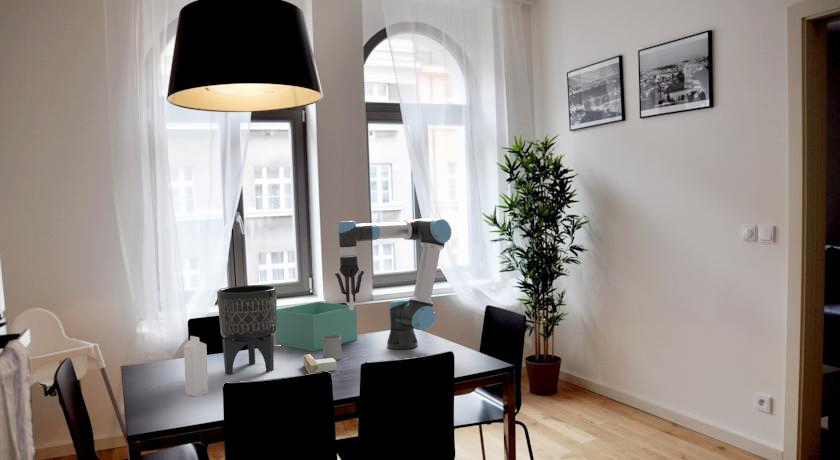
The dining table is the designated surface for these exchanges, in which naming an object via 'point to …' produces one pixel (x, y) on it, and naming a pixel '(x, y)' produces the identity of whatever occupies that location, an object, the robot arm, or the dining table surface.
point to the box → (315, 324)
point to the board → (310, 364)
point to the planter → (248, 322)
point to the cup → (332, 347)
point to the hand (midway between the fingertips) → (351, 309)
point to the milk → (195, 367)
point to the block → (327, 364)
